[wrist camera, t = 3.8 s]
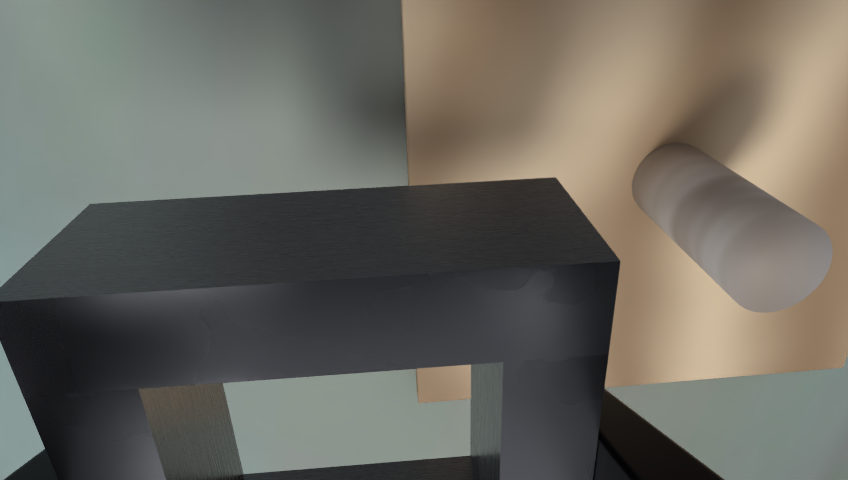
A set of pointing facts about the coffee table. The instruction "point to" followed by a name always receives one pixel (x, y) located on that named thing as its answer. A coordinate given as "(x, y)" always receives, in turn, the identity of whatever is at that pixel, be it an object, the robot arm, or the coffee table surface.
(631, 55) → the wooden peg base
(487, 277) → the collar
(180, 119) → the coffee table surface
